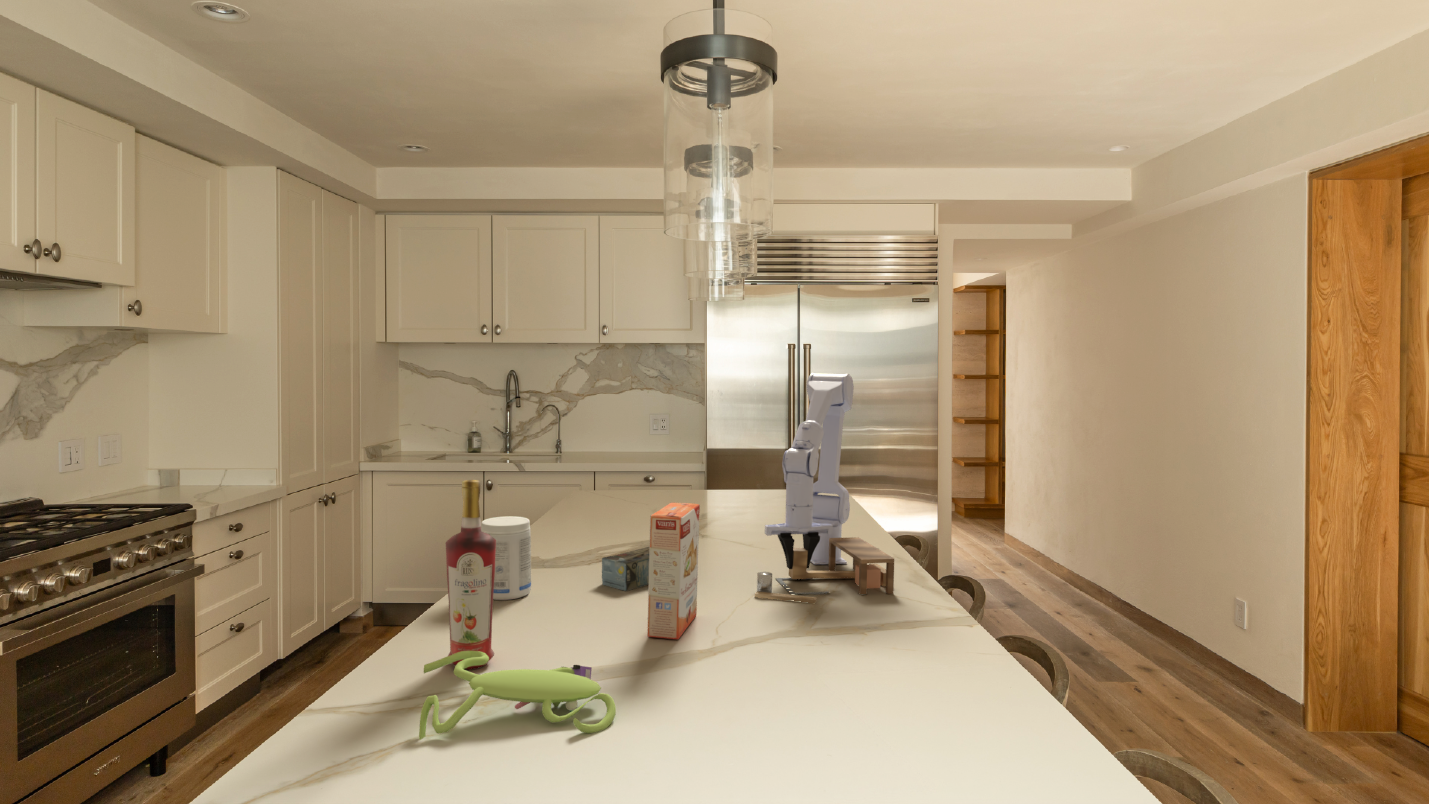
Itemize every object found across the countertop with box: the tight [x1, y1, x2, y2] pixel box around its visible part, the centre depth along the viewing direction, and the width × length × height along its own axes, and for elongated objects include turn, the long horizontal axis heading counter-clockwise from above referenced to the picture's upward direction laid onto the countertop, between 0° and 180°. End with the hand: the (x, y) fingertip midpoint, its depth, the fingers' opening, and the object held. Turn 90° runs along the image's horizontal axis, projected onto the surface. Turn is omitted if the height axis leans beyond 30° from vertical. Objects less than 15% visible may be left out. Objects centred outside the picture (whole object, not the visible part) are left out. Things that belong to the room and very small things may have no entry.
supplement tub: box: [481, 515, 532, 601], centre depth 161 cm, size 10×10×15 cm
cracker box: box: [646, 502, 701, 640], centre depth 143 cm, size 14×6×21 cm, turn 168°
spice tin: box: [756, 571, 773, 593], centre depth 165 cm, size 3×3×4 cm
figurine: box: [418, 651, 617, 741], centre depth 109 cm, size 18×27×6 cm
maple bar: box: [754, 590, 817, 604], centre depth 161 cm, size 2×12×1 cm, turn 73°
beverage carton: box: [601, 546, 650, 592], centre depth 174 cm, size 8×19×7 cm, turn 139°
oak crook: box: [788, 547, 886, 587], centre depth 173 cm, size 20×9×6 cm, turn 101°
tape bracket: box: [775, 577, 830, 595], centre depth 170 cm, size 12×8×1 cm, turn 11°
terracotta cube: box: [854, 564, 881, 589], centre depth 171 cm, size 4×4×4 cm
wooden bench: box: [827, 536, 895, 595], centre depth 175 cm, size 20×7×7 cm, turn 11°
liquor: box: [445, 479, 496, 671], centre depth 123 cm, size 7×7×28 cm
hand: (797, 567), depth 175 cm, fingers closed on oak crook, 3 cm apart
